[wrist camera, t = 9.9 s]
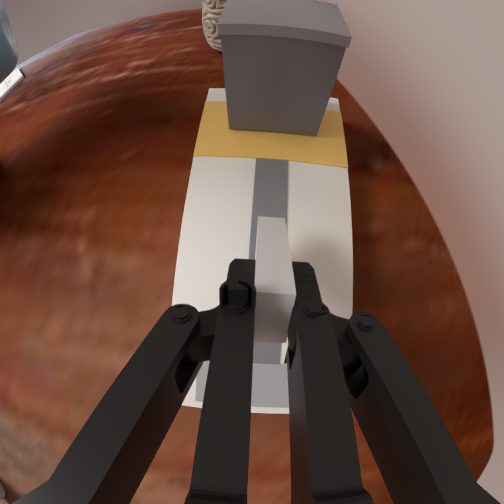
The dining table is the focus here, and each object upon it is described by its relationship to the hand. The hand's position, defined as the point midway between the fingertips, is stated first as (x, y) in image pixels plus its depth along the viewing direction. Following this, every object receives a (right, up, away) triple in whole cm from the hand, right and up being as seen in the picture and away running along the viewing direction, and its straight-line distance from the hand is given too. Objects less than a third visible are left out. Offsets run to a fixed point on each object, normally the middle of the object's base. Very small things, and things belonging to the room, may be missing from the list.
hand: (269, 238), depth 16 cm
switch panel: (0, +1, +6) cm, 6 cm away
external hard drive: (-51, +30, +14) cm, 61 cm away
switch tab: (+1, +11, +5) cm, 12 cm away
